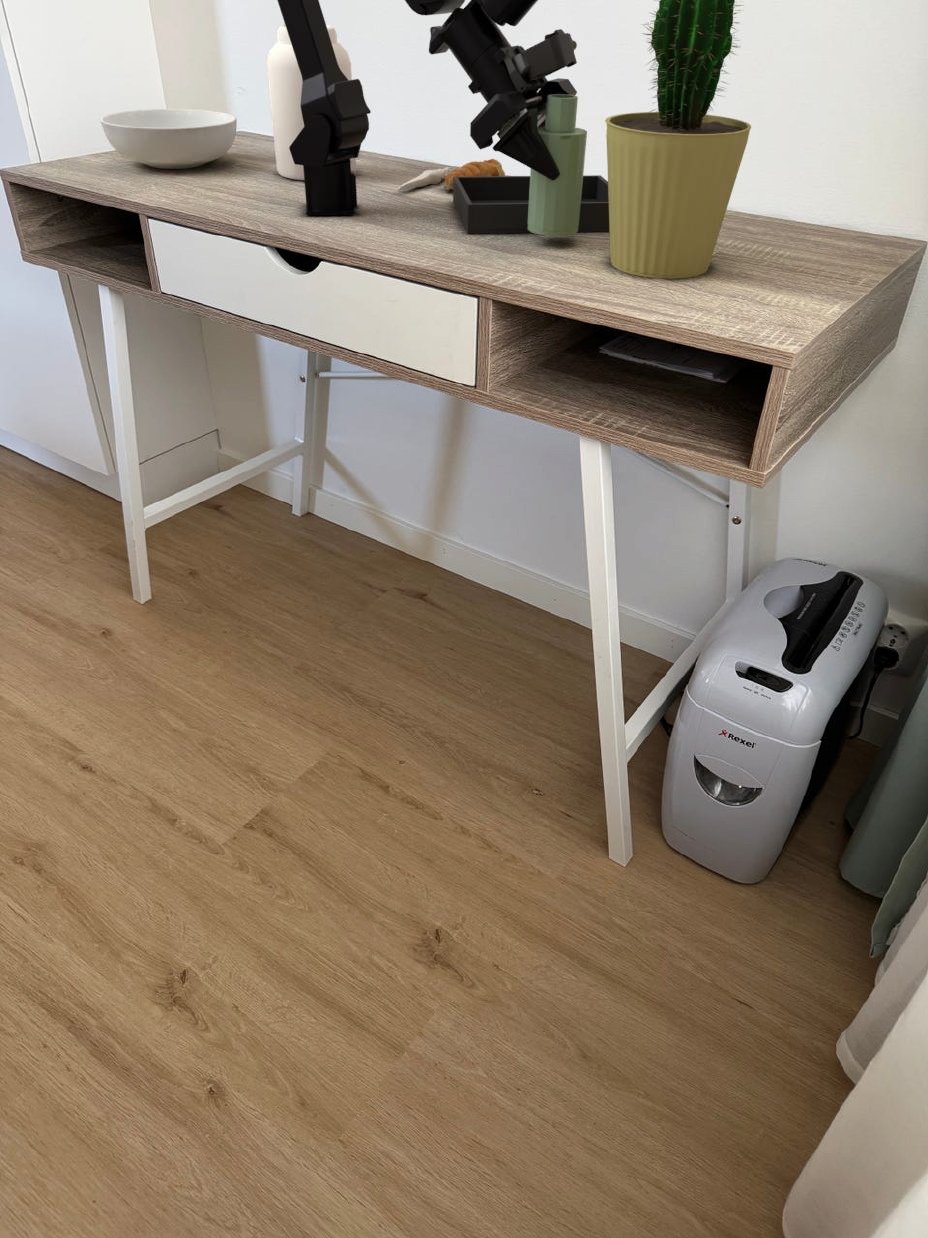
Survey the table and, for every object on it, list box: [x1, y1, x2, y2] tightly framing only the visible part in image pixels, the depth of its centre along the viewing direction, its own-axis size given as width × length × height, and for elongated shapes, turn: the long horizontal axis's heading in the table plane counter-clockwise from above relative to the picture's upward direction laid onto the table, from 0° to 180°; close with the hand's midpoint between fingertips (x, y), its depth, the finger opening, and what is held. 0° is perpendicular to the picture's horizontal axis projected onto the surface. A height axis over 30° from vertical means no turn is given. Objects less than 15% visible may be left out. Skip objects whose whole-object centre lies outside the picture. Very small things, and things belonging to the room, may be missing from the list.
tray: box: [452, 174, 610, 235], centre depth 125 cm, size 21×17×4 cm
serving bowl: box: [100, 108, 238, 170], centre depth 150 cm, size 21×21×7 cm
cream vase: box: [266, 24, 357, 182], centre depth 141 cm, size 12×12×20 cm
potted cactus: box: [604, 0, 752, 279], centre depth 99 cm, size 15×15×30 cm
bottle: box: [528, 94, 588, 237], centre depth 110 cm, size 6×6×14 cm
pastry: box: [443, 158, 506, 190], centre depth 138 cm, size 9×7×4 cm
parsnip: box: [398, 166, 450, 191], centre depth 141 cm, size 15×3×2 cm, turn 152°
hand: (567, 172), depth 110 cm, fingers closed on bottle, 6 cm apart
